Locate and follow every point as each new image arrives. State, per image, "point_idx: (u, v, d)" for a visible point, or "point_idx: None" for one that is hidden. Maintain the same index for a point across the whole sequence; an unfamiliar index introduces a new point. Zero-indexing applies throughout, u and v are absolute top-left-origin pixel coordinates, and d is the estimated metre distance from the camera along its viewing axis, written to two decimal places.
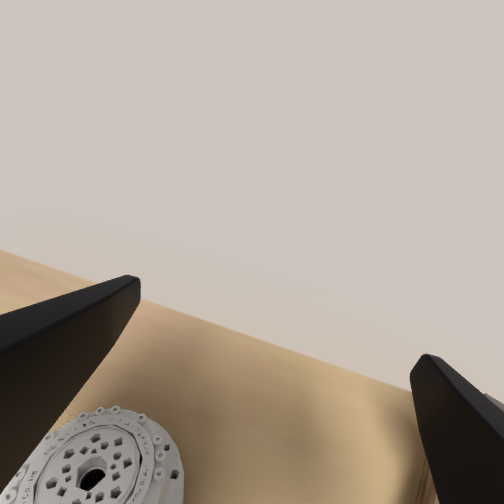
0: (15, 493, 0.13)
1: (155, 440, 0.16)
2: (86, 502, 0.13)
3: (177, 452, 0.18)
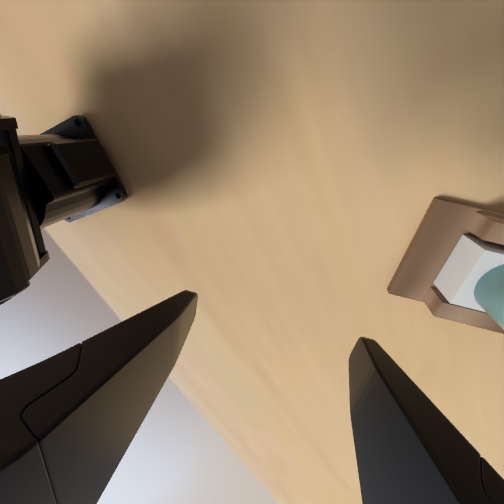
0: None
1: None
2: None
3: None
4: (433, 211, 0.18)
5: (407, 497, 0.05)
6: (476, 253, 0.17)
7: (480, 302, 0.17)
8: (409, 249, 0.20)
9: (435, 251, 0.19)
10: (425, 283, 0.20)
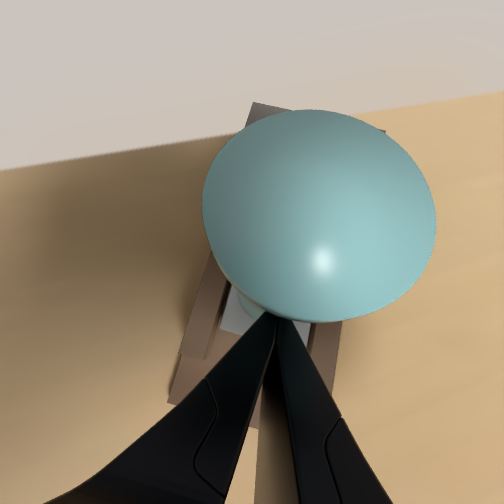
0: None
1: None
2: None
3: None
4: None
5: (272, 457, 0.05)
6: (230, 331, 0.13)
7: None
8: None
9: None
10: None
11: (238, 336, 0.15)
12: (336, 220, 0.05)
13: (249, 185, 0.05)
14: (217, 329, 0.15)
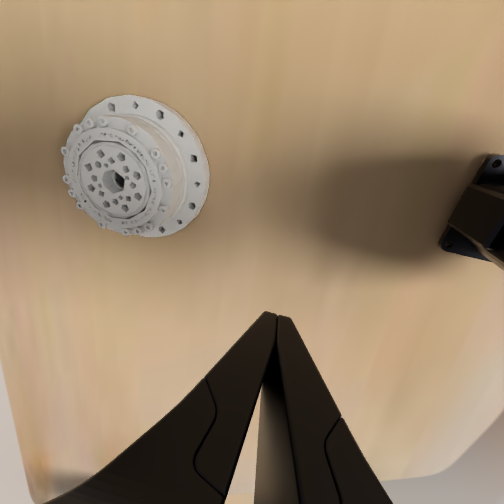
0: (135, 228, 0.18)
1: (78, 131, 0.16)
2: (130, 178, 0.17)
3: (94, 107, 0.18)
4: None
5: (272, 457, 0.05)
6: None
7: None
8: None
9: None
10: None
11: None
12: None
13: None
14: None
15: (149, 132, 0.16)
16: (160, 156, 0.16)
